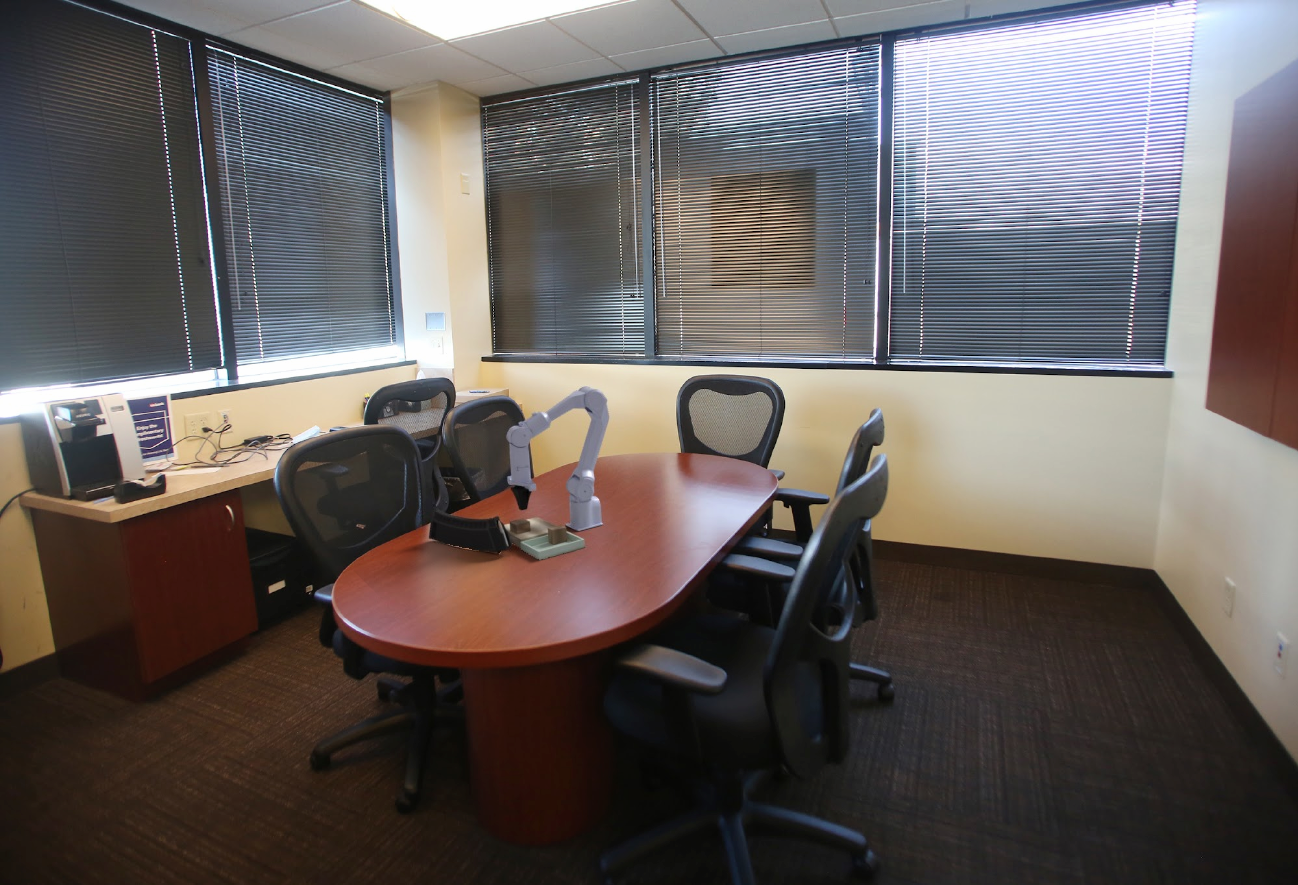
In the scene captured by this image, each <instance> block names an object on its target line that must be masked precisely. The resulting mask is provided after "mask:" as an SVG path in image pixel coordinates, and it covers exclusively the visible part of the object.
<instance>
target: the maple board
mask: <svg viewBox="0 0 1298 885" xmlns="http://www.w3.org/2000/svg"><path fill="white" fill-rule="evenodd" d="M526 520H528V521H530V528H531V531H530V532H526V533H522V534H518V535H517V534H515V533H513V532H511V531H510V523H506V524H503V525H504V526H505V528H506V530H507V531H508V532H509V535H510V539H511V542H512V543H513V544H515V545H516V546H518V547H519V548H518V547H517V548H518V549H520V548H521V546H520V542H522V541H526V540H530V539H534V538H538V537H541V536H545V535H548V528H550V527H554V526H556V524H553V523H551V522H549V521H546V520H545V519H542V518H540V517H538V516H536V517H531V518H528V519H526ZM513 544H512V545H513ZM515 545H514V546H515ZM516 546H515V547H516Z"/></svg>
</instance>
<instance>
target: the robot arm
mask: <svg viewBox="0 0 1298 885" xmlns="http://www.w3.org/2000/svg"><path fill="white" fill-rule="evenodd" d="M607 403H608V398H607V397H606V396H605V394H604V392H603V391H601V390H600V389H597V388H592V387H590V386H581V387H580V388H579V389H578V390H574V391H572V392H571V393H569V395H568V396H566V397H565V398H564V399H562V400H560V401H559V402H558V403H556V404H555V405H553V406H552V407H550V408H549V409H548V410H546V411H544V412H542V411H538V412H536V411H534V412H532V413H531V416H530V417H528V418H527V419H525V420H523V421H519V422H518V425H513V426H511V427H510V428H509V429H508V431H507V433H506V435H505V438H506V440H507V441H508V442H509V459H510V460H509V462H510V463H509V464H510V475H509V476H507V477H506V478H507V483H508V485H510V486H512V487H510V490H511V492H512V494H513V495H514V498H515V501H516V503H517V506H518V509H519V511H525V510H528V508H529V500H530V497H531V495H532V493H533V492H534V491H537V484H536V483H535V482H534V480H532V478H531V464H530V463H531V461H530V450H529V445H530V442H531V440H532V439H534V438H535V437H538V435H540V434H542V433H543V432H545V431H546V430H548V429H549V428H550V427H551V424H552V422H553V421H555V420H556V419H558V418H560V417H561V416H563V415H565V414H566V413H568V412H570V411H572V410H574V409H581V410H583V409H584V410H585V411H586V413H587V415H589V418H590V419H591V420H590V423H589V426H588V430H587V433H586V436H585V439H584V443H583V446H582V449H581V452H580V457H579V459H578V463H577V466H576V467H575V469H573V470H572V473H571V476H570V477H568V479H567V480H566V484H565V488H566V491H567V492H568V493H569V497H568V500H569V502H568V503H569V519H570V522H567V523H565V525H564V526H565V527H568V528H571V529H573V530H574V531H576V532H581V531H584V530H589V529H592V528H596V527H599V526H603V525H604V523H603V522H602V505H601V502H600V499H599V498H598V497H597V496H596V495H594V494H595V487H594V486H595V485H594V484H595V480H596V479H595V474H594V471H595V467H596V464H597V462H598V461H597V460H598V457H599V455H600V451H601V448H602V444H603V441H604V438H605V434H606V430H607V428H608V424H609V420H610V413H609V409H608V404H607Z"/></svg>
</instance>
